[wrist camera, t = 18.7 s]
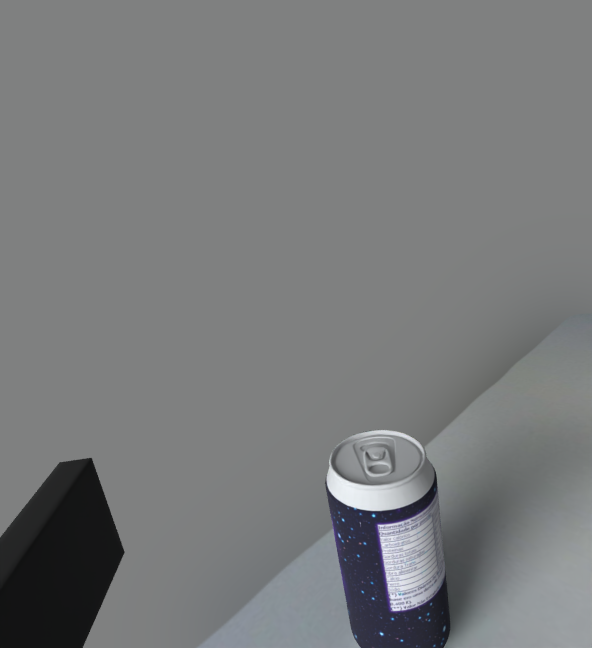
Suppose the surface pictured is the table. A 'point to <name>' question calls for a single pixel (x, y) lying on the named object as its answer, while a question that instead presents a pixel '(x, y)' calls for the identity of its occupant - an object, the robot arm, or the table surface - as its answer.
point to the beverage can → (389, 540)
